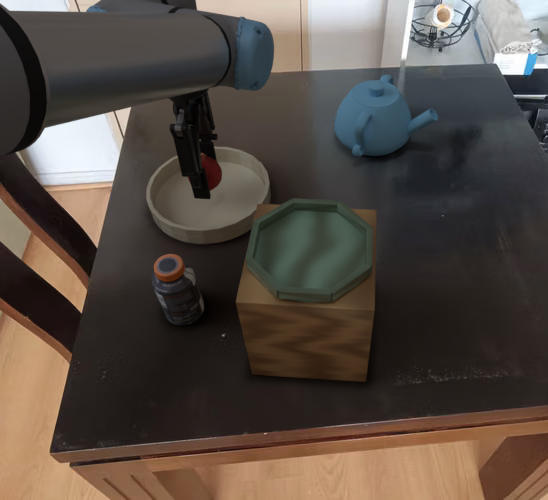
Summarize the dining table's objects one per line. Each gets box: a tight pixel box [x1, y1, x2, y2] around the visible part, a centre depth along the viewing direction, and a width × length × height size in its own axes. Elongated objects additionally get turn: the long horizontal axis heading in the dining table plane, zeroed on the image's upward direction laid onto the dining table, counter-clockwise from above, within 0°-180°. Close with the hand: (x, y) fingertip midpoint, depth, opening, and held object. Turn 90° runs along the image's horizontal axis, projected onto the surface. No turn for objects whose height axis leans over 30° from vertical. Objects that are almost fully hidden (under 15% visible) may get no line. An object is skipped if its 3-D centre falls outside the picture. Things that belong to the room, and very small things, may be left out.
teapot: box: [333, 73, 439, 158], centre depth 104 cm, size 20×20×13 cm
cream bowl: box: [145, 145, 272, 245], centre depth 96 cm, size 21×21×4 cm
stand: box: [235, 197, 378, 383], centre depth 73 cm, size 16×16×20 cm
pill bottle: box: [151, 253, 205, 326], centre depth 78 cm, size 6×6×11 cm
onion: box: [188, 153, 222, 191], centre depth 92 cm, size 6×6×8 cm
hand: (206, 184), depth 94 cm, fingers closed on onion, 6 cm apart
